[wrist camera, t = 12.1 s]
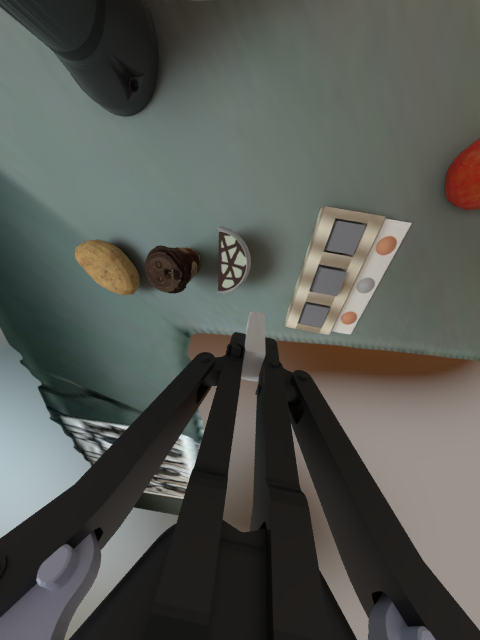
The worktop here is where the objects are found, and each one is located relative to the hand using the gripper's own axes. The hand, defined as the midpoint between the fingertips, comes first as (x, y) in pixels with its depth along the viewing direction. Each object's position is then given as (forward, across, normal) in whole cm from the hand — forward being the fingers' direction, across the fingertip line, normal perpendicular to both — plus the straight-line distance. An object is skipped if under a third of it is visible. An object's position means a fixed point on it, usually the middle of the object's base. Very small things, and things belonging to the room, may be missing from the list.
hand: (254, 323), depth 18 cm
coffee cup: (+27, -17, -1) cm, 32 cm away
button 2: (+26, +15, +9) cm, 31 cm away
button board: (+26, +15, +1) cm, 30 cm away
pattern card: (+26, +24, +1) cm, 36 cm away
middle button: (+25, +15, +1) cm, 29 cm away
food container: (+27, -5, +2) cm, 27 cm away
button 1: (+26, +15, -7) cm, 31 cm away
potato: (+27, -34, -5) cm, 44 cm away
